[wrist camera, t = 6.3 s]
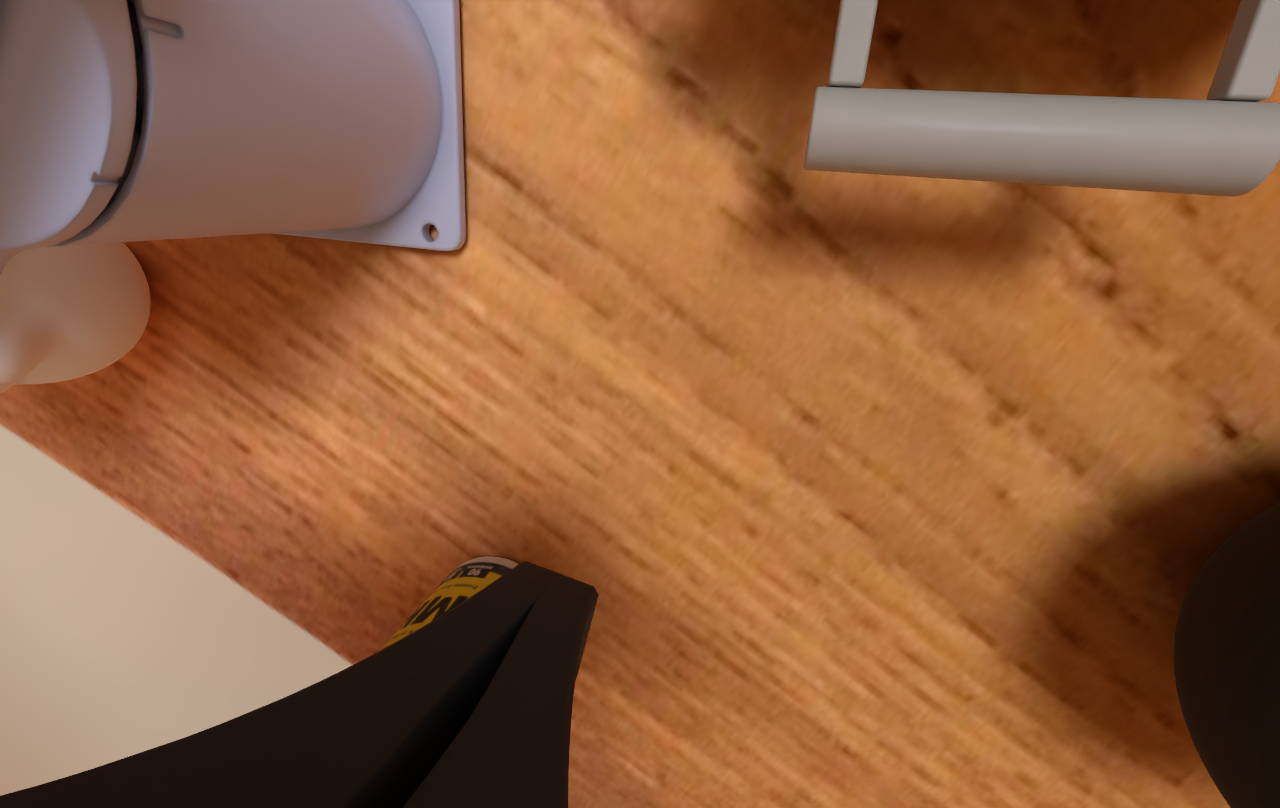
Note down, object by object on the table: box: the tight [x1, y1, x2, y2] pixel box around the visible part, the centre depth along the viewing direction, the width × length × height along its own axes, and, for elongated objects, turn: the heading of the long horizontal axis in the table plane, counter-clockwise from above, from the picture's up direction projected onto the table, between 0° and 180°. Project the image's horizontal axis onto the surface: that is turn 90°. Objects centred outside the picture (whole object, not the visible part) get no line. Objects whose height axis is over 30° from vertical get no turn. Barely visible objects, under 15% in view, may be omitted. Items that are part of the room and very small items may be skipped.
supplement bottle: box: [378, 556, 518, 652], centre depth 19 cm, size 5×5×8 cm
